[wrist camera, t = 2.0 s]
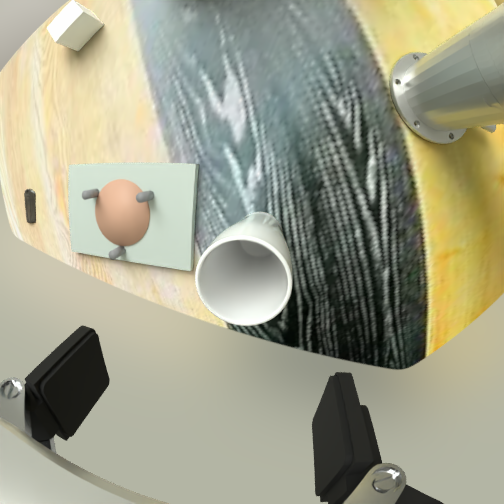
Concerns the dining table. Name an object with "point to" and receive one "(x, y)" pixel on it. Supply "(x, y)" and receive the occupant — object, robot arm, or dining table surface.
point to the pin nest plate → (134, 212)
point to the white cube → (74, 26)
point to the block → (30, 205)
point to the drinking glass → (246, 271)
